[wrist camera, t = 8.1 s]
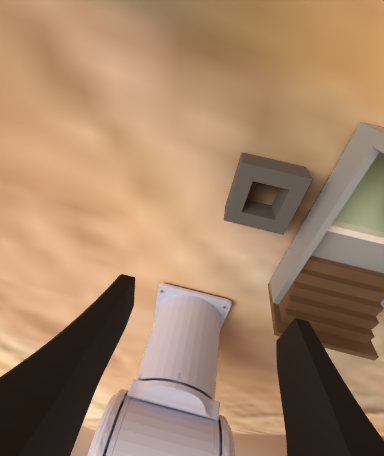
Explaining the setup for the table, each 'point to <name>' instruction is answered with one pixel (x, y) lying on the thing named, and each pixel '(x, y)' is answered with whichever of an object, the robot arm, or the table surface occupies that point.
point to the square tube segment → (271, 175)
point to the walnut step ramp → (334, 305)
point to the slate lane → (343, 214)
